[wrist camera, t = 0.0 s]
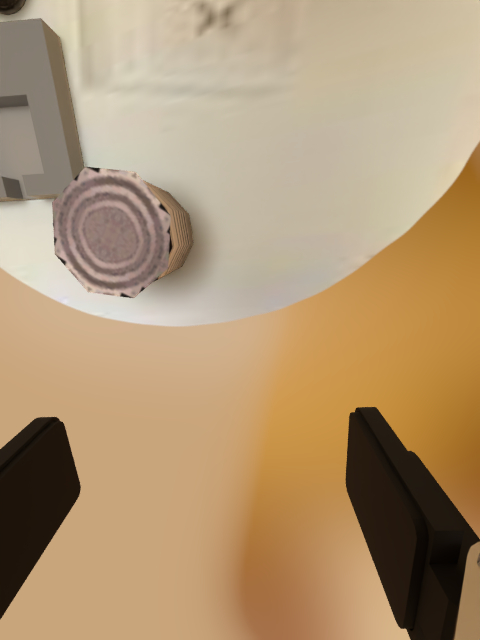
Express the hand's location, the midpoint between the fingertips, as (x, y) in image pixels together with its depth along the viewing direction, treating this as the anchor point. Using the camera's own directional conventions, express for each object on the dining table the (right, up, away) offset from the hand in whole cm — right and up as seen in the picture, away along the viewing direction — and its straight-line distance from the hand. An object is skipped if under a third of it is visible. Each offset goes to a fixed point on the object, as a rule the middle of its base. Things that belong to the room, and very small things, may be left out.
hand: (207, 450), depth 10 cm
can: (-10, +15, +29) cm, 34 cm away
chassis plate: (-25, +27, +25) cm, 45 cm away
